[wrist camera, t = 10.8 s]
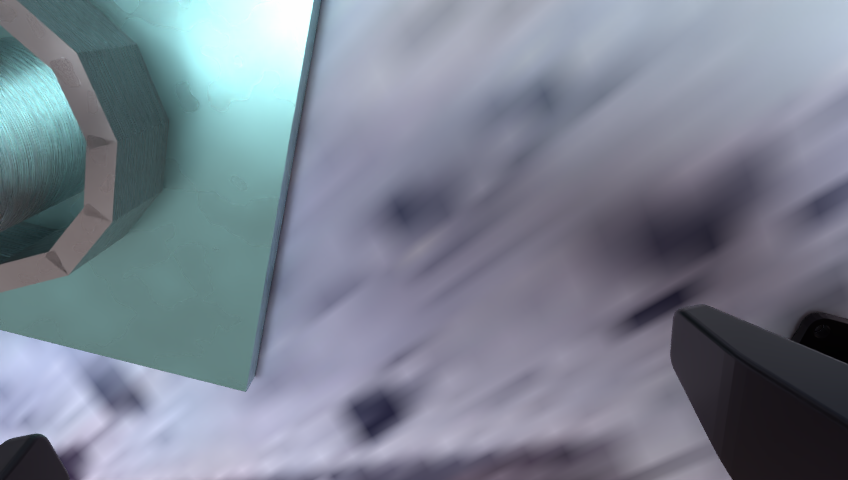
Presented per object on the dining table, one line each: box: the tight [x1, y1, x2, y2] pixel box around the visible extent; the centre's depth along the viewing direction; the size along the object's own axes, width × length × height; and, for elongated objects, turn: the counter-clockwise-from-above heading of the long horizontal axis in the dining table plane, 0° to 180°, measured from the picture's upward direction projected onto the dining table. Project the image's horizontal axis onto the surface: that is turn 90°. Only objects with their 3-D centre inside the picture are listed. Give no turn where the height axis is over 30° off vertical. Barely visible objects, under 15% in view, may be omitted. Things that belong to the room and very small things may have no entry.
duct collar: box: [0, 0, 321, 392], centre depth 18 cm, size 16×16×4 cm
